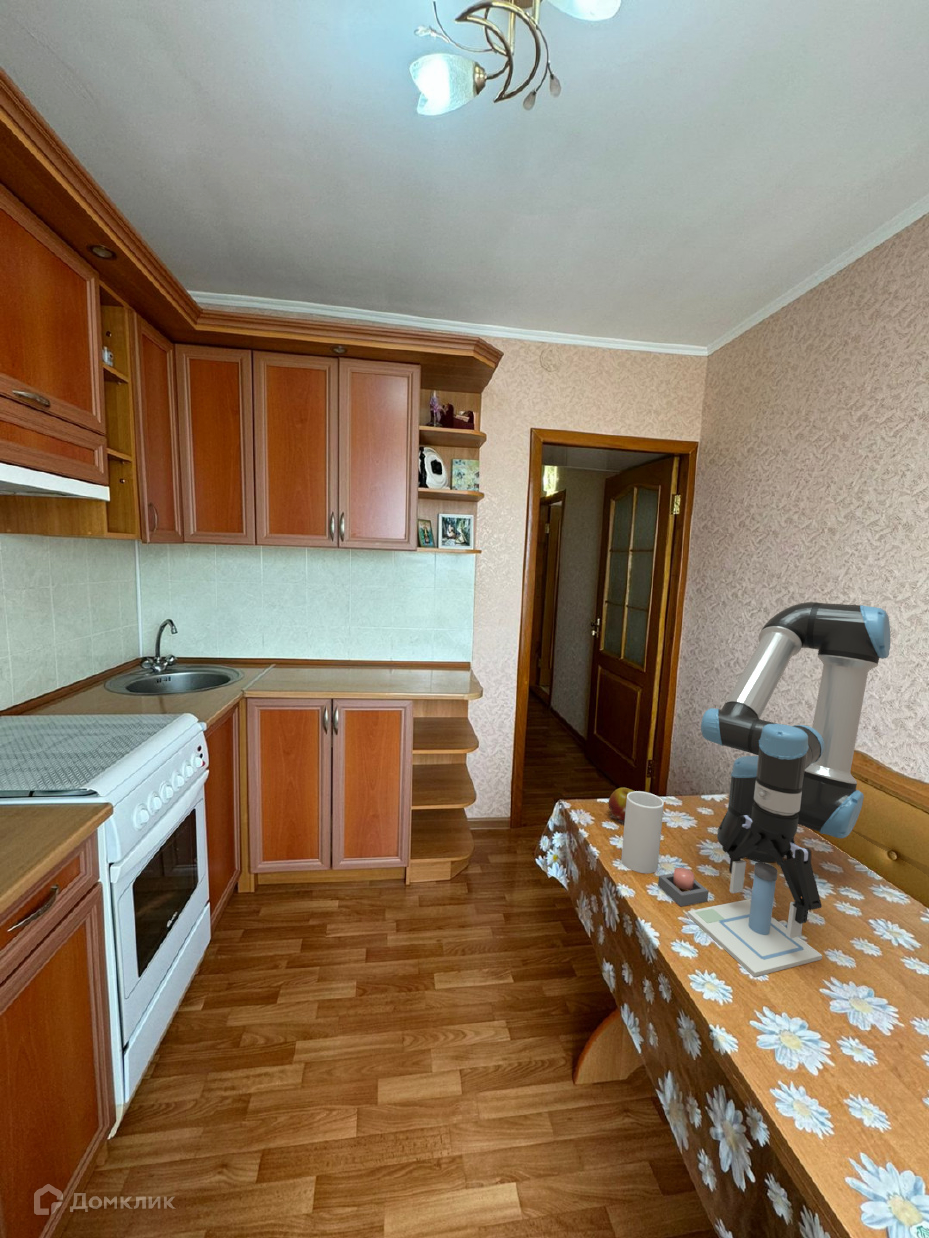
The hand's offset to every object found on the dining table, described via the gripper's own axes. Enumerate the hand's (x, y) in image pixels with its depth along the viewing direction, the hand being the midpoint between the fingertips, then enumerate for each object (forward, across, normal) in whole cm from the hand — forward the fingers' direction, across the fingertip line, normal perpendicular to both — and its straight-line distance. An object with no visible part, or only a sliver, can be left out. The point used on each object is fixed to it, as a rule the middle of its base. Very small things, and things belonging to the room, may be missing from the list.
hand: (763, 912), depth 98 cm
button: (+2, -13, -7) cm, 15 cm away
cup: (+4, -26, -9) cm, 27 cm away
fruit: (+4, -46, +1) cm, 46 cm away
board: (+4, 0, -3) cm, 5 cm away
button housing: (+4, -14, -7) cm, 16 cm away
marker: (+3, 0, -1) cm, 3 cm away
